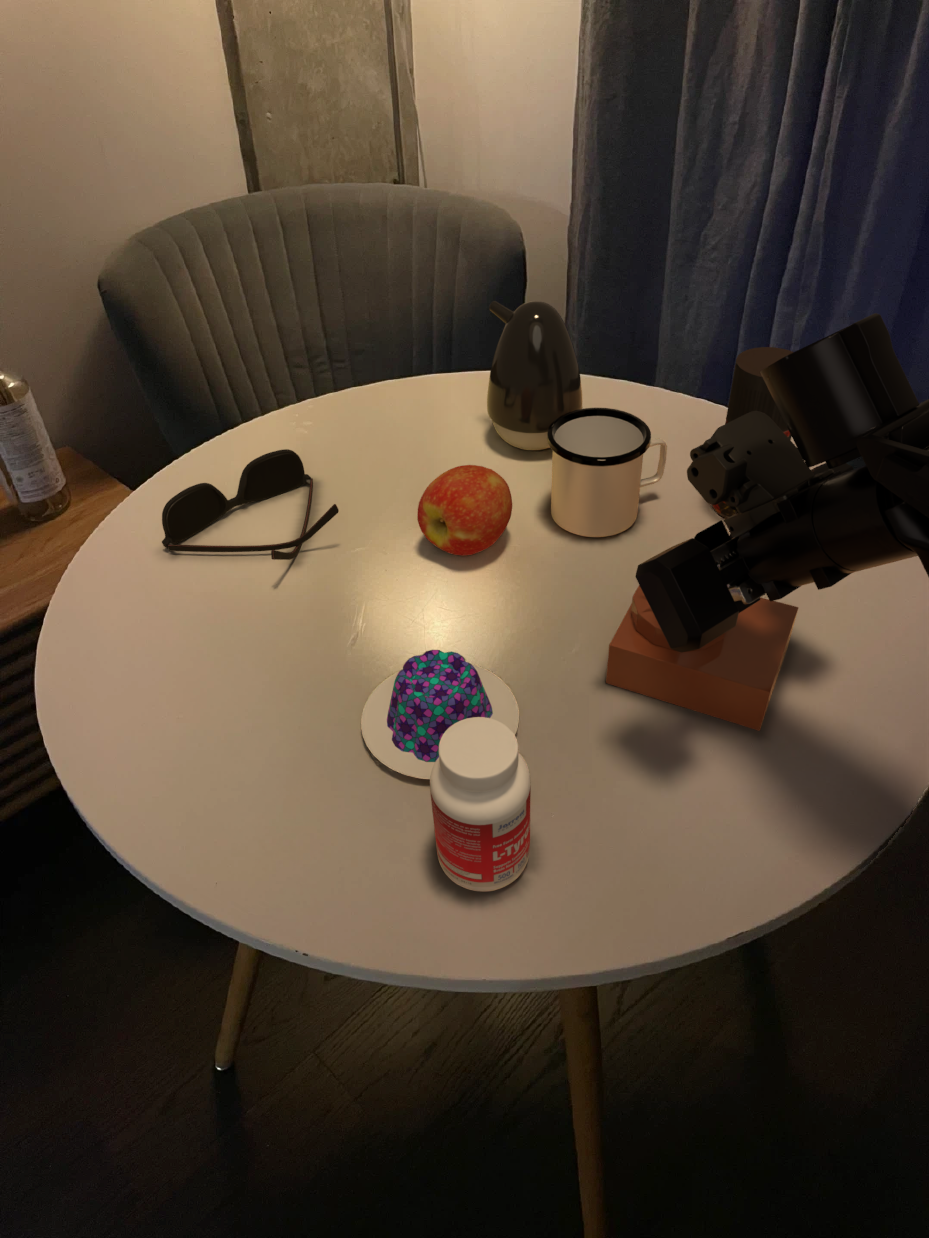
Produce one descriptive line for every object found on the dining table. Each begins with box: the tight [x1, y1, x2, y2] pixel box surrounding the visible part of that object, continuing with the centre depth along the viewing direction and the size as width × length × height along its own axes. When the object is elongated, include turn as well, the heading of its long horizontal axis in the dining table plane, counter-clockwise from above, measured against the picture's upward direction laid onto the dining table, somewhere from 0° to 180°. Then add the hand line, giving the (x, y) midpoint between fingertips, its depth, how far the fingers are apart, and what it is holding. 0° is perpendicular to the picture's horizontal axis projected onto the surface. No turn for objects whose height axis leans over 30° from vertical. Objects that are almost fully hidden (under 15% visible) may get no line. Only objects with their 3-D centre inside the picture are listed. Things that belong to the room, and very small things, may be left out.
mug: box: [547, 407, 668, 538], centre depth 84 cm, size 12×10×9 cm
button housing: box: [605, 584, 799, 731], centre depth 69 cm, size 12×10×6 cm
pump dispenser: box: [486, 300, 583, 451], centre depth 93 cm, size 10×10×15 cm
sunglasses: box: [161, 448, 340, 561], centre depth 84 cm, size 17×14×5 cm
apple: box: [416, 464, 513, 556], centre depth 82 cm, size 8×8×8 cm
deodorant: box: [711, 346, 794, 520], centre depth 82 cm, size 6×6×15 cm
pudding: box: [360, 649, 520, 780], centre depth 66 cm, size 12×12×5 cm
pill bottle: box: [429, 717, 532, 892], centre depth 55 cm, size 6×6×11 cm
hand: (685, 575), depth 66 cm, fingers closed
